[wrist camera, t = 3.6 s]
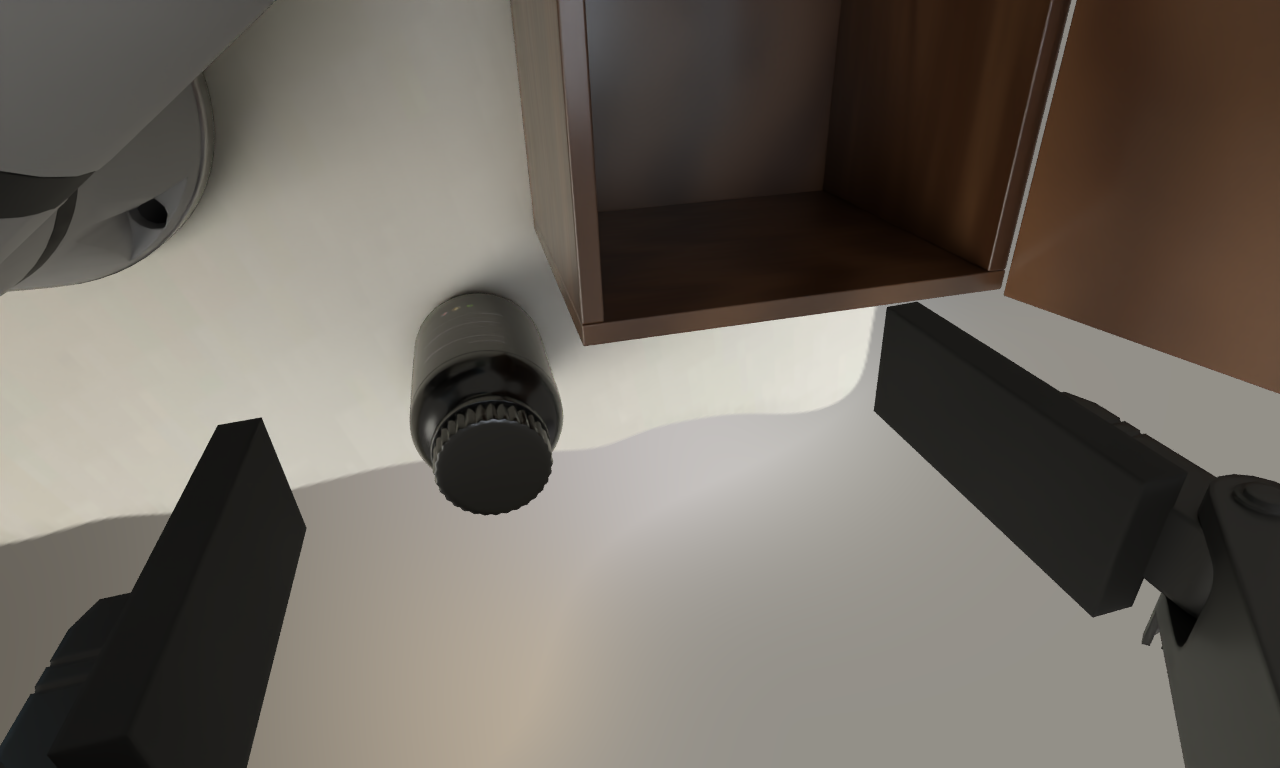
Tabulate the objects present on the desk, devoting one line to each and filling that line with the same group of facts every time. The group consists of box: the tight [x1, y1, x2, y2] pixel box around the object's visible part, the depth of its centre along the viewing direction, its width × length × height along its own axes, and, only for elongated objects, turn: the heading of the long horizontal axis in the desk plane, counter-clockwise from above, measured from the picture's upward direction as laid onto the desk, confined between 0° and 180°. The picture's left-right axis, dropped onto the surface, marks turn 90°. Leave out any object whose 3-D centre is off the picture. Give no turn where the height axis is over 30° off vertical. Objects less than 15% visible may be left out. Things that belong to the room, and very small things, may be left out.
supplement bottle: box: [410, 293, 563, 515], centre depth 33 cm, size 7×7×12 cm
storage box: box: [510, 0, 1071, 346], centre depth 28 cm, size 17×13×14 cm
